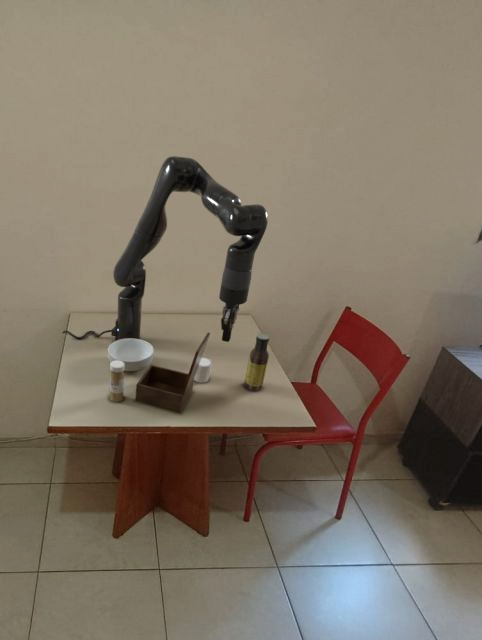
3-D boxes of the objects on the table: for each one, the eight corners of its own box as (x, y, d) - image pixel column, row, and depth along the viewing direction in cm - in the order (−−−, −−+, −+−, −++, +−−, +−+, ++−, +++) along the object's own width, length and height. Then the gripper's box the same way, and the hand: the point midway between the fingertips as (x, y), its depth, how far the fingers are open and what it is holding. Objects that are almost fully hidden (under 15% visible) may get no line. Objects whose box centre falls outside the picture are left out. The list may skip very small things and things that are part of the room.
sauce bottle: (252, 379, 158) (263, 329, 147) (265, 388, 154) (278, 337, 143) (239, 384, 156) (249, 334, 144) (252, 393, 151) (264, 342, 140)
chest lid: (195, 351, 127) (198, 352, 127) (207, 332, 137) (210, 333, 137) (181, 394, 137) (183, 395, 137) (193, 373, 147) (195, 374, 147)
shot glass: (211, 375, 160) (214, 358, 156) (208, 385, 155) (210, 368, 151) (193, 371, 162) (195, 355, 158) (188, 381, 156) (191, 364, 152)
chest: (135, 401, 146) (136, 384, 142) (150, 380, 156) (151, 364, 152) (180, 413, 141) (182, 396, 137) (192, 391, 151) (194, 375, 147)
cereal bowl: (120, 350, 173) (120, 333, 169) (159, 360, 167) (161, 344, 164) (99, 370, 161) (99, 353, 157) (140, 382, 155) (141, 365, 151)
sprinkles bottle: (107, 398, 146) (107, 363, 139) (116, 392, 149) (116, 358, 142) (117, 404, 144) (118, 369, 137) (126, 398, 147) (127, 363, 139)
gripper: (227, 273, 126) (218, 328, 135) (215, 289, 115) (207, 347, 125) (254, 277, 123) (243, 333, 133) (244, 294, 113) (233, 353, 123)
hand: (225, 340), depth 129 cm, fingers closed
